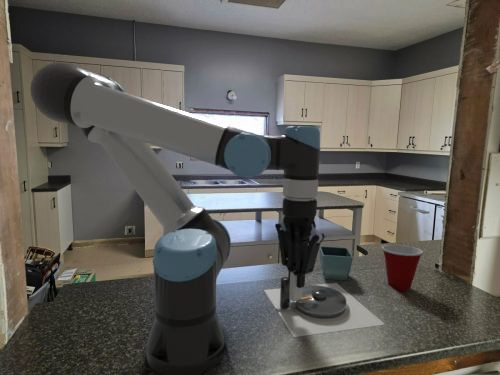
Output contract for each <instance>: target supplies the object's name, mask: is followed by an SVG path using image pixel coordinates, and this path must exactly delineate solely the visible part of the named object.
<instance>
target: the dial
mask: <svg viewBox="0 0 500 375" xmlns="http://www.w3.org/2000/svg"><path fill="white" fill-rule="evenodd" d="M317 285H318V284H311V285H304V287H303V288H302V298H301V299H299V300H297V301H292V300H290V299H289V291H290V283H289V282H288V277H287V276H282V277H280V307H281V308H283V309H288V308H296V309H297V310H298V311H299V312H301V313H303V314H305V315H307V316H311V317H315V318H323V319H328V318H335V317H338V316H341V315H342V314H343V313H344V312H345V310H346V298H345V296H344V295H343V294H341V293H340V292H339V291H337V290H334V289H332V288H329V287H324V286H317Z"/></svg>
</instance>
